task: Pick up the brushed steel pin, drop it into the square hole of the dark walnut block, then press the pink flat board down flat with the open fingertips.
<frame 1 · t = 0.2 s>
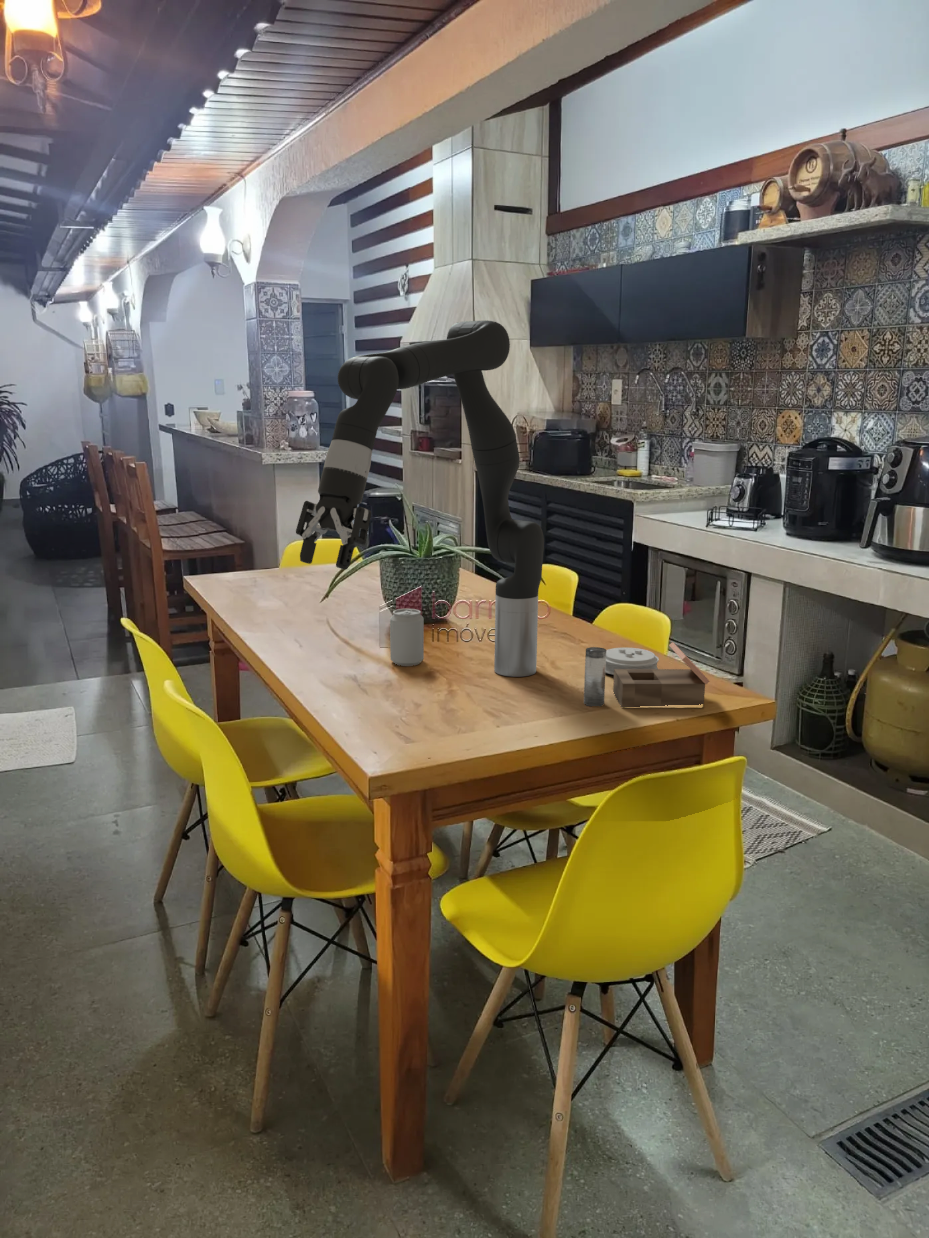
hand: (323, 565, 160), 31 cm above the table, tool tilted 20°, fingers open, 8 cm apart
can: (407, 663, 217), on the table
pin: (593, 703, 190), on the table
pink flat board: (688, 662, 190), point 8 cm above the table, hinge at 45.0°
socket block: (657, 700, 192), on the table
lid: (628, 673, 212), on the table
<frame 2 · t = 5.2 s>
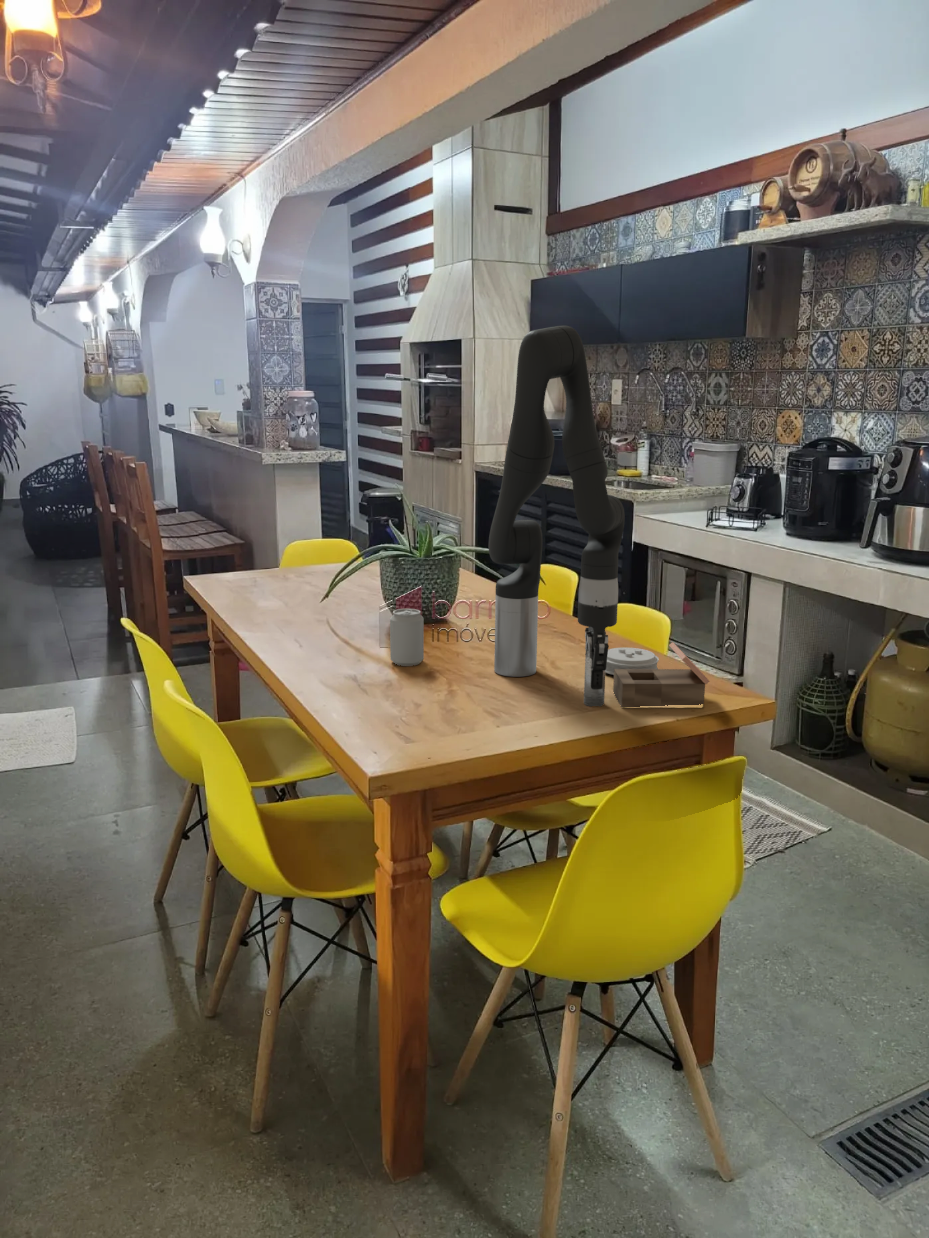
hand: (594, 684, 189), 4 cm above the table, tool pointing down, fingers closed on pin, 4 cm apart
pin: (593, 703, 190), on the table, touching gripper
everything else where it was.
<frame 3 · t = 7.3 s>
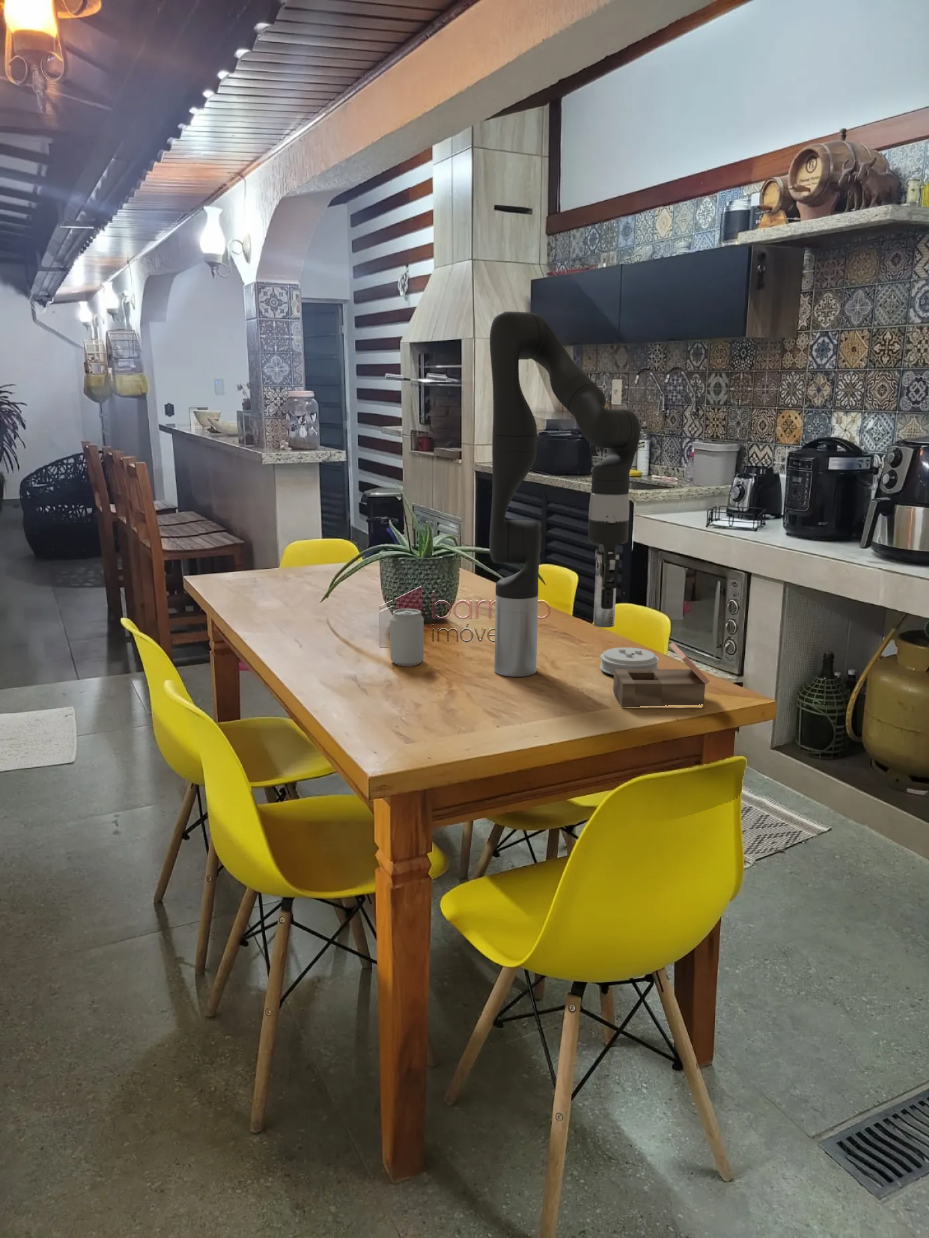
hand: (604, 605, 185), 20 cm above the table, tool pointing down, fingers closed on pin, 4 cm apart
pin: (603, 625, 186), point 16 cm above the table, touching gripper
everything else where it was.
when the fingers open (6 cm above the table, at t = 9.7 s): pin drops 2 cm, resting in socket block.
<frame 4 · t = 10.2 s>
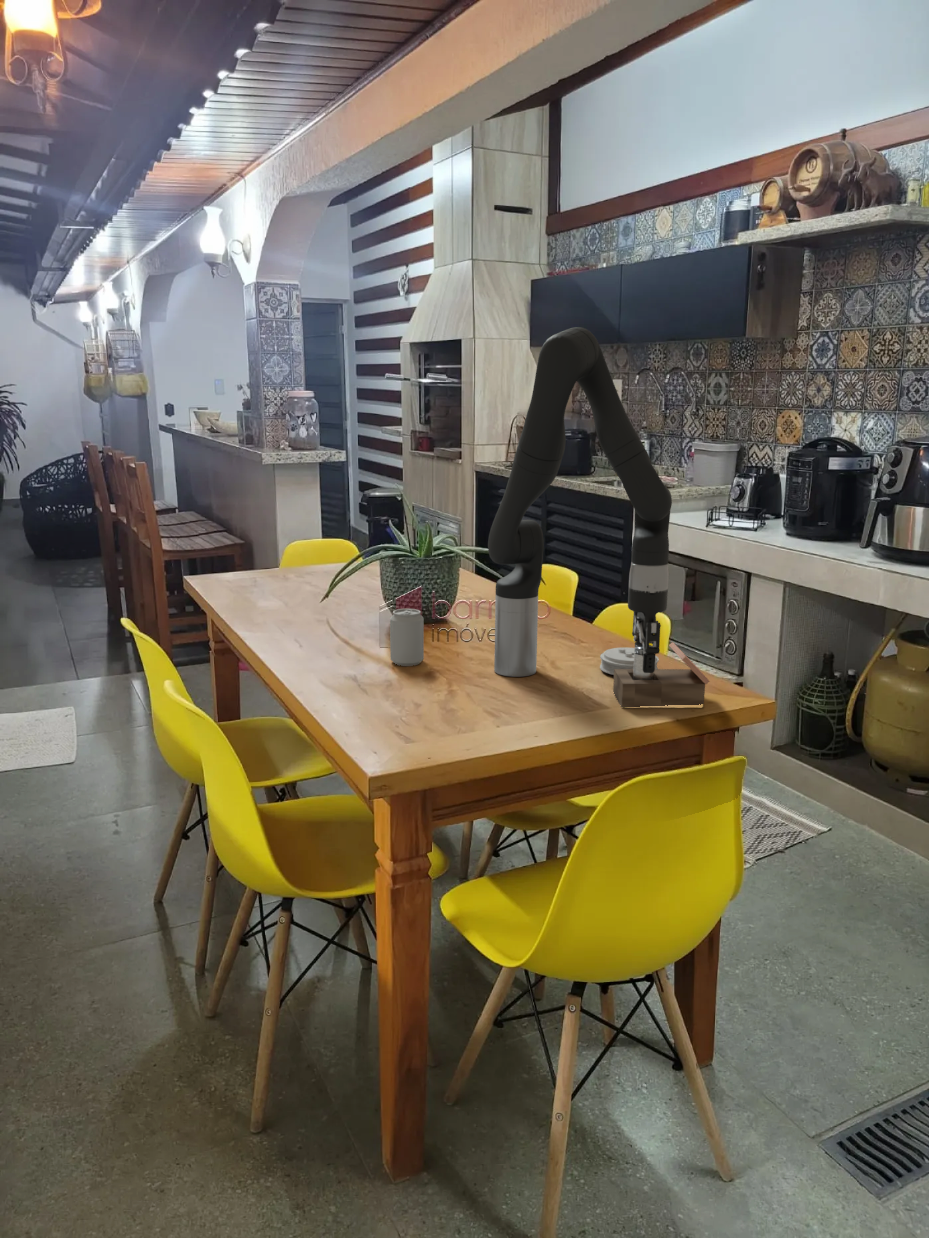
hand: (644, 666, 190), 7 cm above the table, tool pointing down, fingers open, 8 cm apart
pin: (641, 700, 192), resting in socket block
everything else where it was.
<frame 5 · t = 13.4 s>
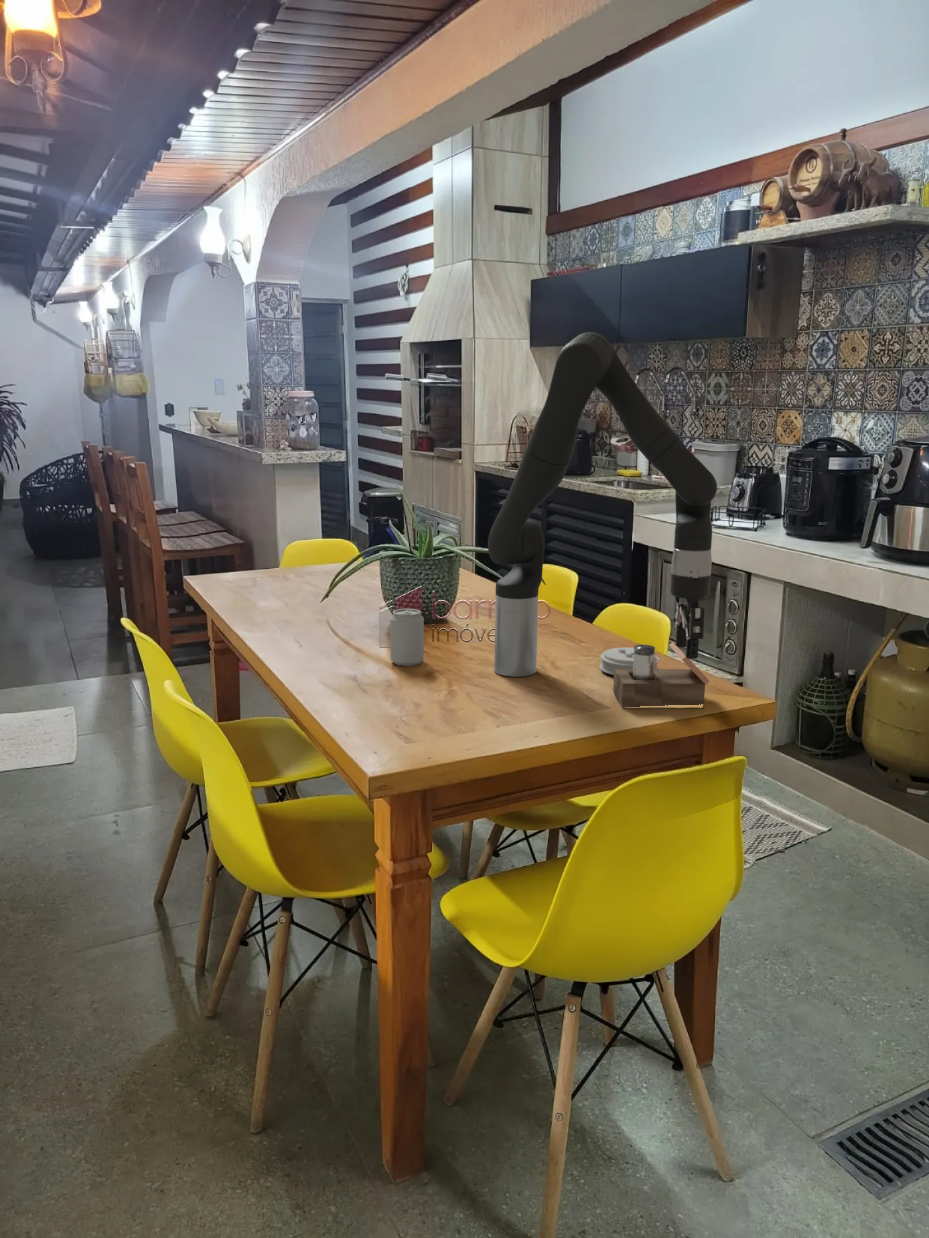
hand: (686, 652, 190), 10 cm above the table, tool pointing down
pink flat board: (688, 662, 190), point 8 cm above the table, hinge at 45.0°, touching gripper
everything else where it was.
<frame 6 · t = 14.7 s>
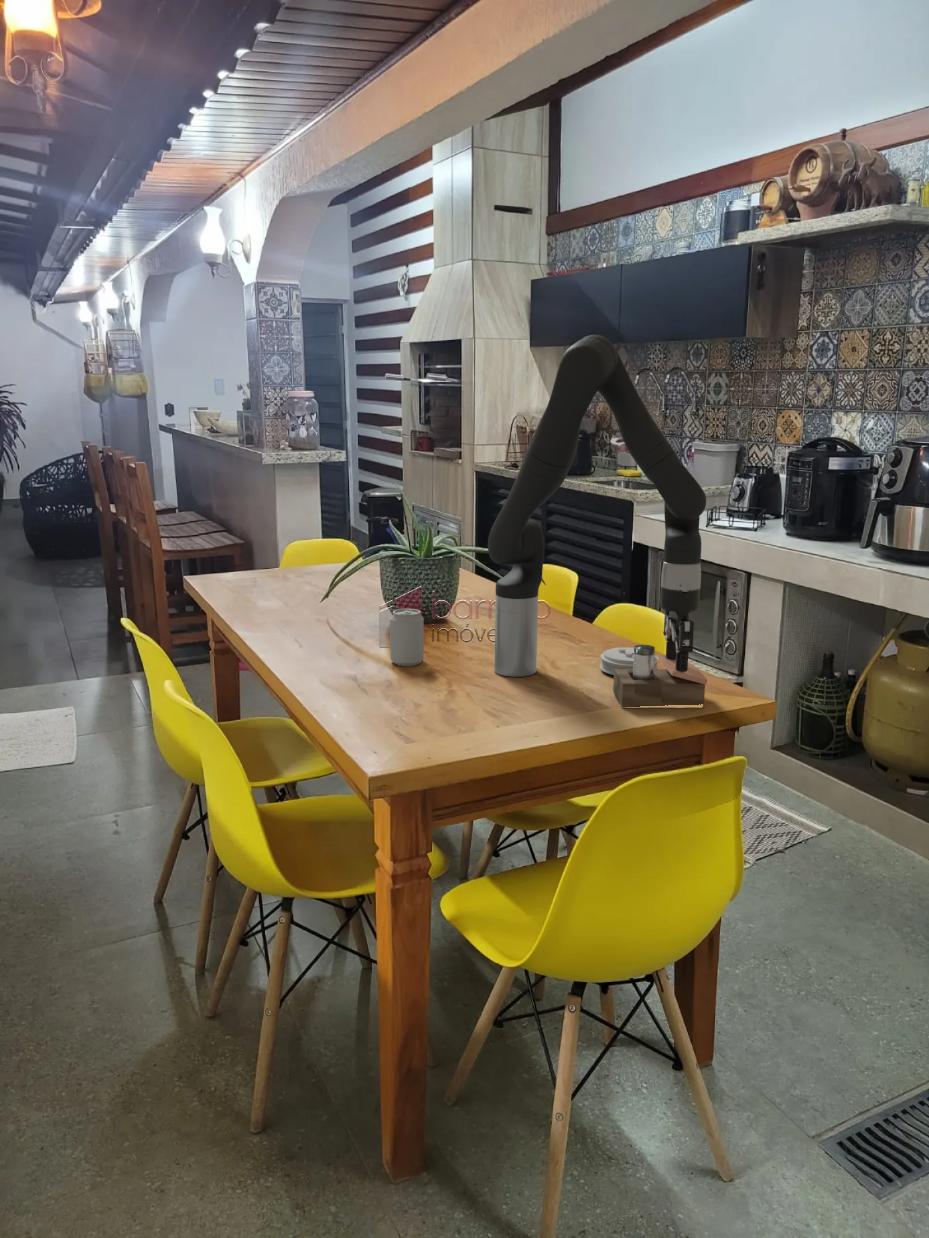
hand: (676, 665, 190), 7 cm above the table, tool pointing down
pink flat board: (682, 669, 191), point 6 cm above the table, hinge at 15.4°, touching gripper
everything else where it was.
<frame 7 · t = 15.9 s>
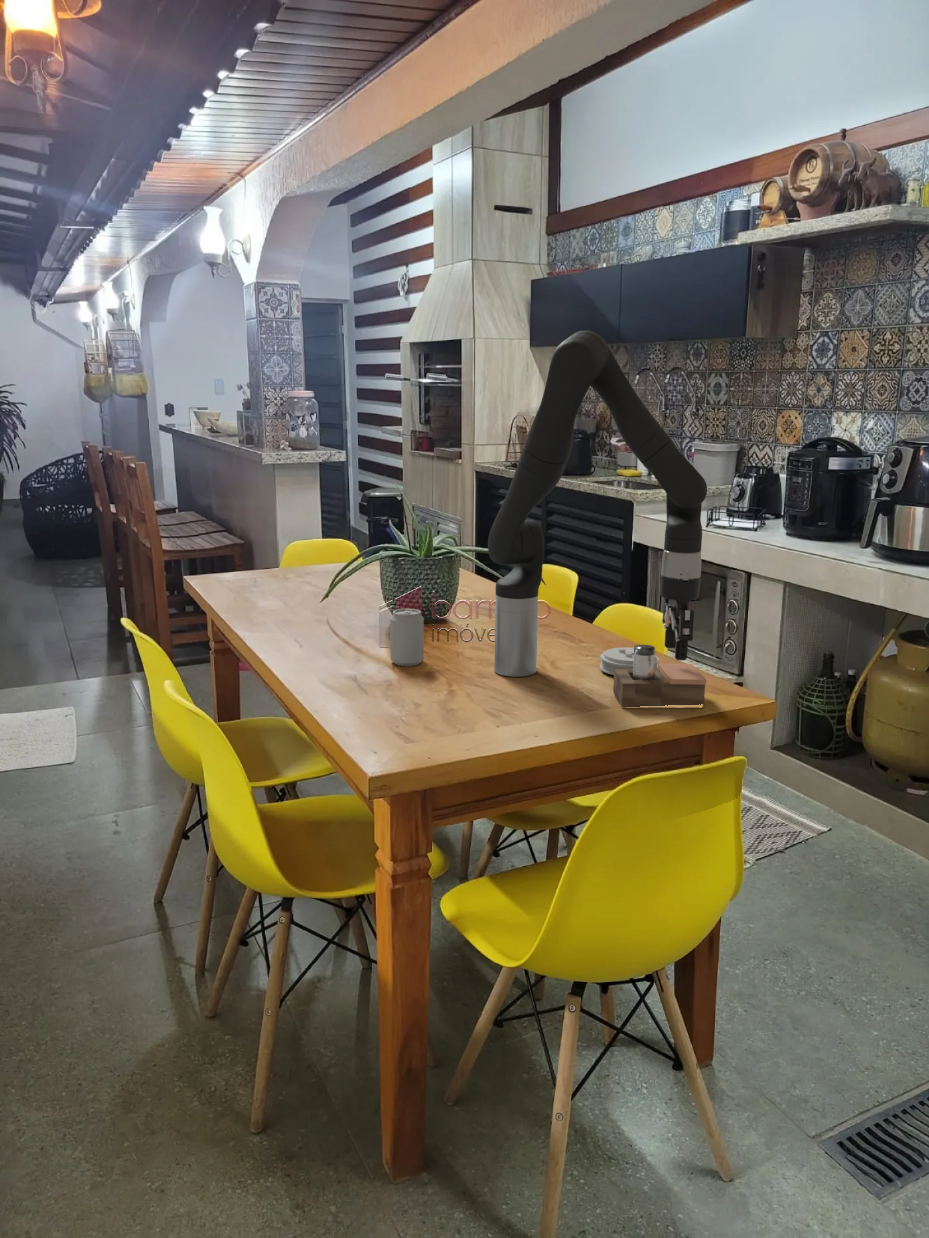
hand: (675, 653, 190), 10 cm above the table, tool pointing down, fingers open, 8 cm apart
pink flat board: (681, 673, 191), point 6 cm above the table, hinge at 1.0°, touching socket block
everything else where it was.
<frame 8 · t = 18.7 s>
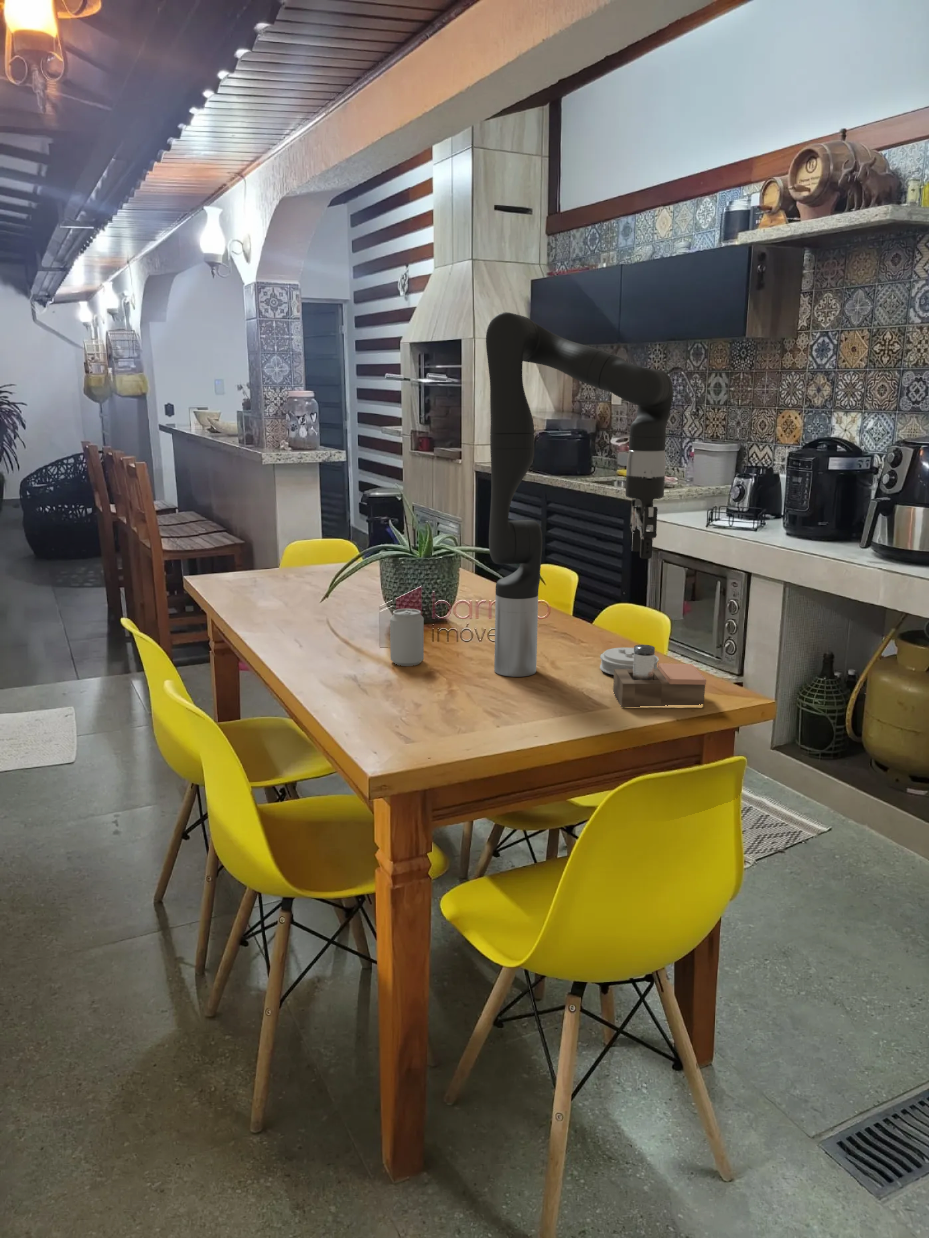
hand: (641, 554, 193), 28 cm above the table, tool pointing down, fingers open, 8 cm apart
pink flat board: (681, 673, 191), point 6 cm above the table, hinge at 0.9°
everything else where it was.
at the end: pin 0.1 cm from the target spot on the socket block, point 0.0 cm above the socket block's base; pin tilted 0°; pink flat board at +1° (first picture: +45°) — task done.
